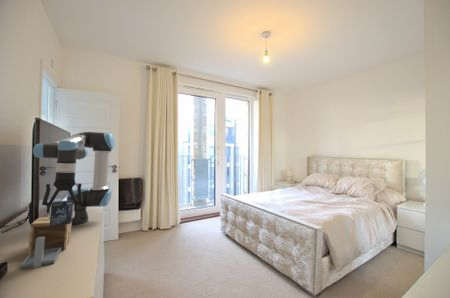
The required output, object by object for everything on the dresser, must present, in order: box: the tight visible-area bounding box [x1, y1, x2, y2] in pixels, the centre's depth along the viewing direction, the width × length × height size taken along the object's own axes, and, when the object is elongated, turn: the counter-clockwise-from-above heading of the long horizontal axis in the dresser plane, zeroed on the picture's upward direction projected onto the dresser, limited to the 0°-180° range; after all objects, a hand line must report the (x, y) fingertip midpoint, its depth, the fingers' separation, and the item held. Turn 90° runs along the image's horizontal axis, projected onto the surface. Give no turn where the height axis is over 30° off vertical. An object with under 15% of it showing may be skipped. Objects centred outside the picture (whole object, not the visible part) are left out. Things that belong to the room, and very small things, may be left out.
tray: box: [19, 236, 63, 270], centre depth 90 cm, size 14×11×12 cm
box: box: [50, 200, 74, 226], centre depth 96 cm, size 8×6×11 cm
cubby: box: [27, 216, 73, 256], centre depth 102 cm, size 11×14×14 cm
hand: (61, 218), depth 96 cm, fingers closed on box, 8 cm apart
